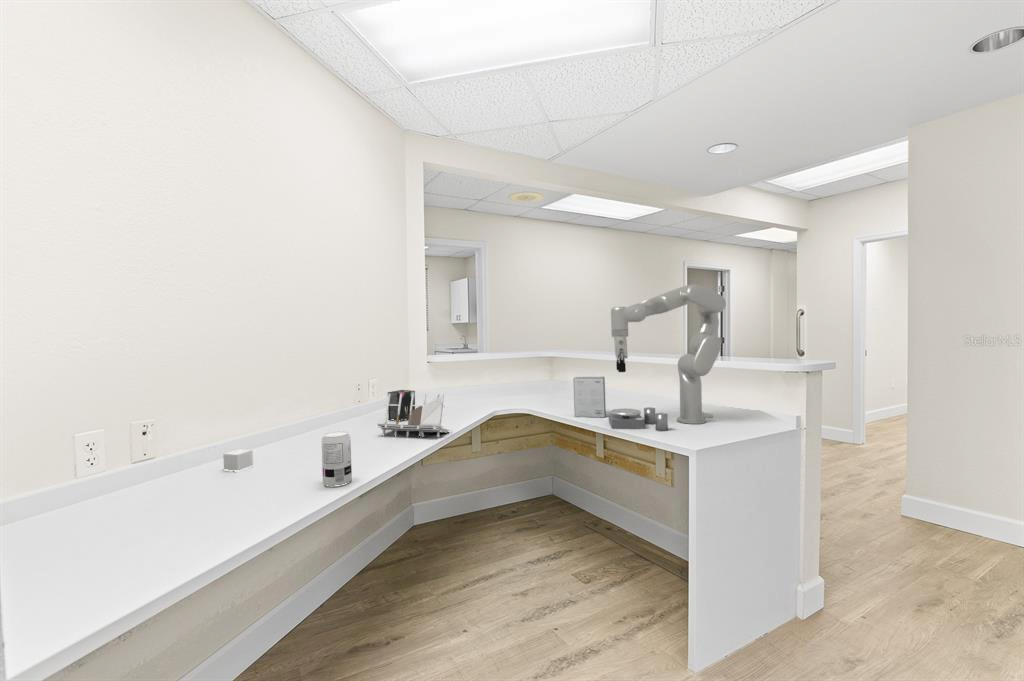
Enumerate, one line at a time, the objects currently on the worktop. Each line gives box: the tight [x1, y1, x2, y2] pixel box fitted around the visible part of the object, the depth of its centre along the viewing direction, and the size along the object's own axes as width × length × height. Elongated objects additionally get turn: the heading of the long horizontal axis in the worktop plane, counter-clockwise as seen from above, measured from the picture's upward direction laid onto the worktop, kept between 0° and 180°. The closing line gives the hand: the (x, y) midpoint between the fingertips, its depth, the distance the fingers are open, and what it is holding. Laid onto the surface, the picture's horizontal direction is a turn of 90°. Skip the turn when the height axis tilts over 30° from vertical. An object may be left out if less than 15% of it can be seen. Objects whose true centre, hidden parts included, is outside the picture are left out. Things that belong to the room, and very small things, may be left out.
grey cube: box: [223, 448, 254, 470], centre depth 154 cm, size 6×6×6 cm
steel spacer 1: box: [643, 407, 656, 425], centre depth 210 cm, size 5×5×7 cm
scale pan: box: [610, 408, 641, 417], centre depth 207 cm, size 13×13×3 cm
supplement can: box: [321, 430, 353, 486], centre depth 137 cm, size 8×8×15 cm
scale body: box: [608, 413, 645, 430], centre depth 207 cm, size 14×14×4 cm
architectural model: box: [377, 393, 451, 438], centre depth 198 cm, size 20×29×21 cm
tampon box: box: [387, 389, 416, 421], centre depth 235 cm, size 11×9×15 cm
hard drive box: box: [573, 376, 607, 418], centre depth 231 cm, size 16×8×20 cm, turn 74°
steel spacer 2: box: [655, 412, 669, 432], centre depth 196 cm, size 5×5×7 cm
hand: (621, 371), depth 208 cm, fingers open, 9 cm apart
